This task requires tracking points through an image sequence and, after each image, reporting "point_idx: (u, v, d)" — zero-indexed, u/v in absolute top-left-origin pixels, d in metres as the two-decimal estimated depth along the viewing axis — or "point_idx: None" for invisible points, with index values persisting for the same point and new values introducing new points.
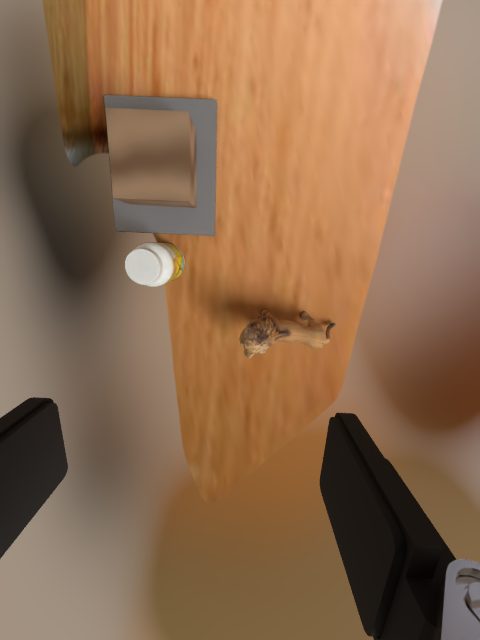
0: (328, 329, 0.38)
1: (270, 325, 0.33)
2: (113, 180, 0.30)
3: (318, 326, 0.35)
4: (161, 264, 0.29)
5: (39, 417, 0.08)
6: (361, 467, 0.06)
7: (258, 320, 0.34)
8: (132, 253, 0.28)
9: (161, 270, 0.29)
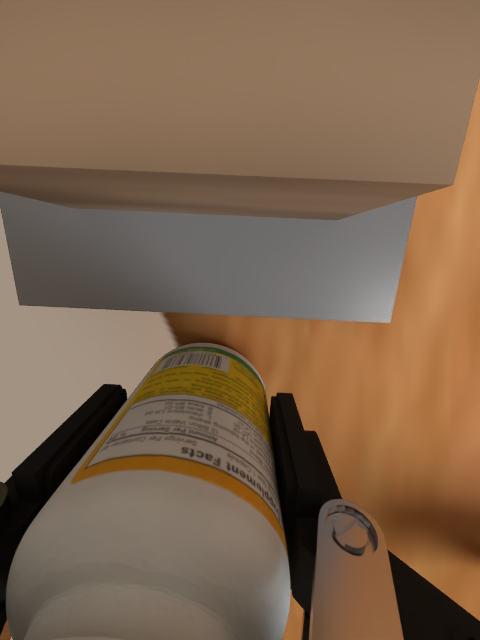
0: None
1: None
2: None
3: None
4: None
5: (116, 401, 0.09)
6: (281, 434, 0.07)
7: None
8: None
9: None
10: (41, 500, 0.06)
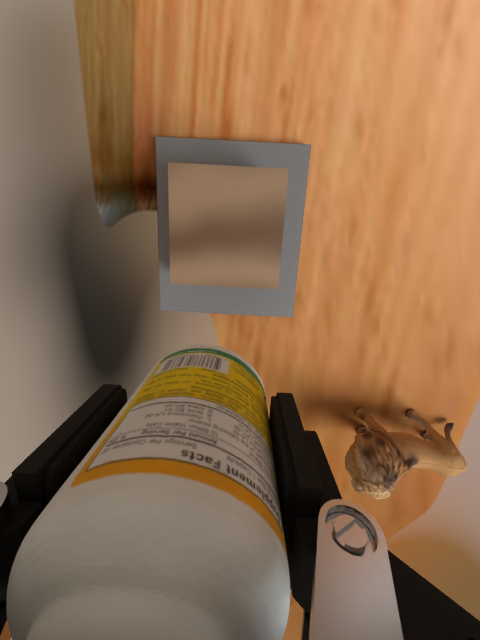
0: (448, 434, 0.29)
1: (394, 455, 0.24)
2: (172, 260, 0.21)
3: (450, 444, 0.26)
4: None
5: (116, 401, 0.09)
6: (281, 434, 0.07)
7: (373, 444, 0.25)
8: None
9: None
10: (41, 500, 0.06)
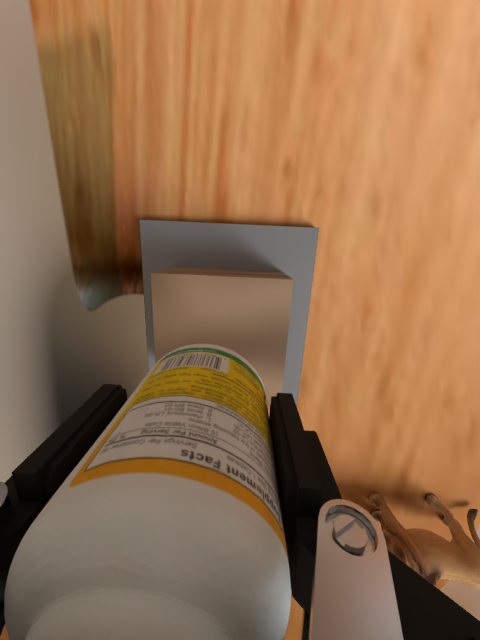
0: (472, 525, 0.27)
1: None
2: None
3: (476, 550, 0.23)
4: None
5: (116, 400, 0.09)
6: (281, 434, 0.07)
7: None
8: None
9: None
10: (41, 500, 0.06)
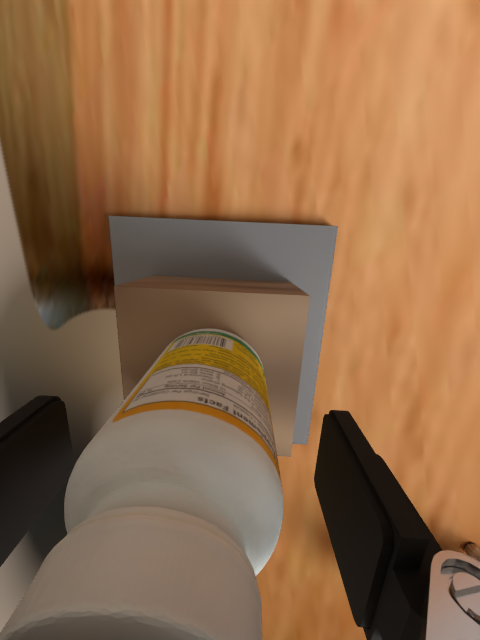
0: None
1: None
2: None
3: None
4: (261, 626, 0.04)
5: (48, 415, 0.08)
6: (352, 462, 0.06)
7: None
8: (36, 638, 0.03)
9: None
10: None
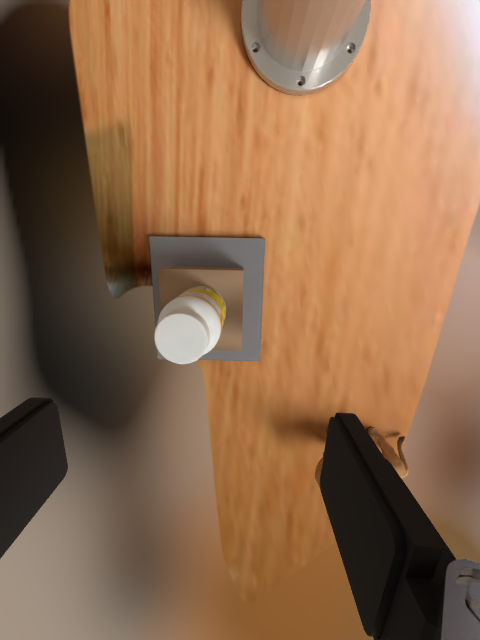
0: (399, 446, 0.37)
1: None
2: None
3: (395, 456, 0.34)
4: (209, 333, 0.19)
5: (39, 417, 0.08)
6: (361, 467, 0.06)
7: None
8: (166, 320, 0.18)
9: (208, 341, 0.19)
10: None
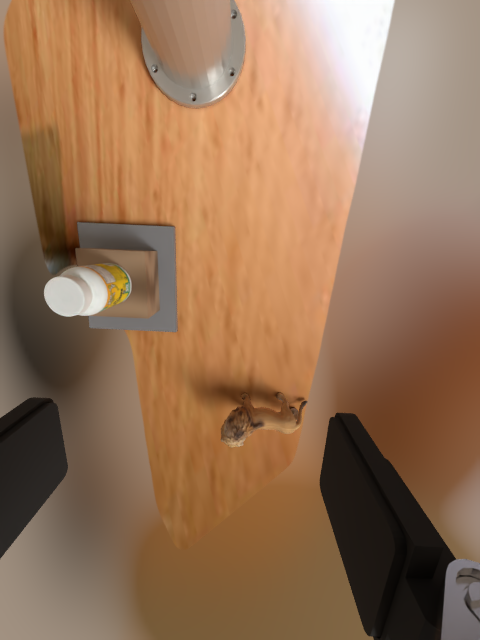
0: (300, 408, 0.43)
1: (246, 420, 0.38)
2: None
3: (289, 414, 0.40)
4: (88, 293, 0.25)
5: (39, 417, 0.08)
6: (361, 467, 0.06)
7: (235, 414, 0.39)
8: (51, 282, 0.24)
9: (88, 300, 0.26)
10: None
